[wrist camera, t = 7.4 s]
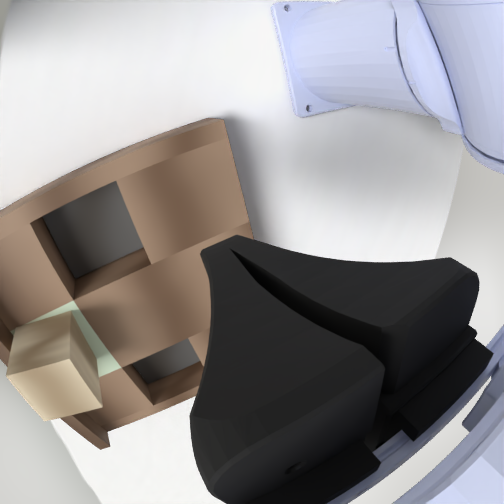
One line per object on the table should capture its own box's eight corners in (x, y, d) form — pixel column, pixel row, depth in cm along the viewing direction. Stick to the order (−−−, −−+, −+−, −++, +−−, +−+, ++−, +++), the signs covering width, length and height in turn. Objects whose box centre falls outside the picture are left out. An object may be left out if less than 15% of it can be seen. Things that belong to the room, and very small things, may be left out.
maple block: (70, 310, 15) (69, 358, 12) (96, 358, 17) (102, 407, 14) (15, 327, 14) (6, 376, 11) (45, 373, 16) (44, 421, 13)
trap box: (208, 117, 17) (235, 121, 14) (267, 334, 27) (291, 364, 23) (-40, 237, 13) (-65, 267, 9) (94, 412, 22) (100, 449, 19)
